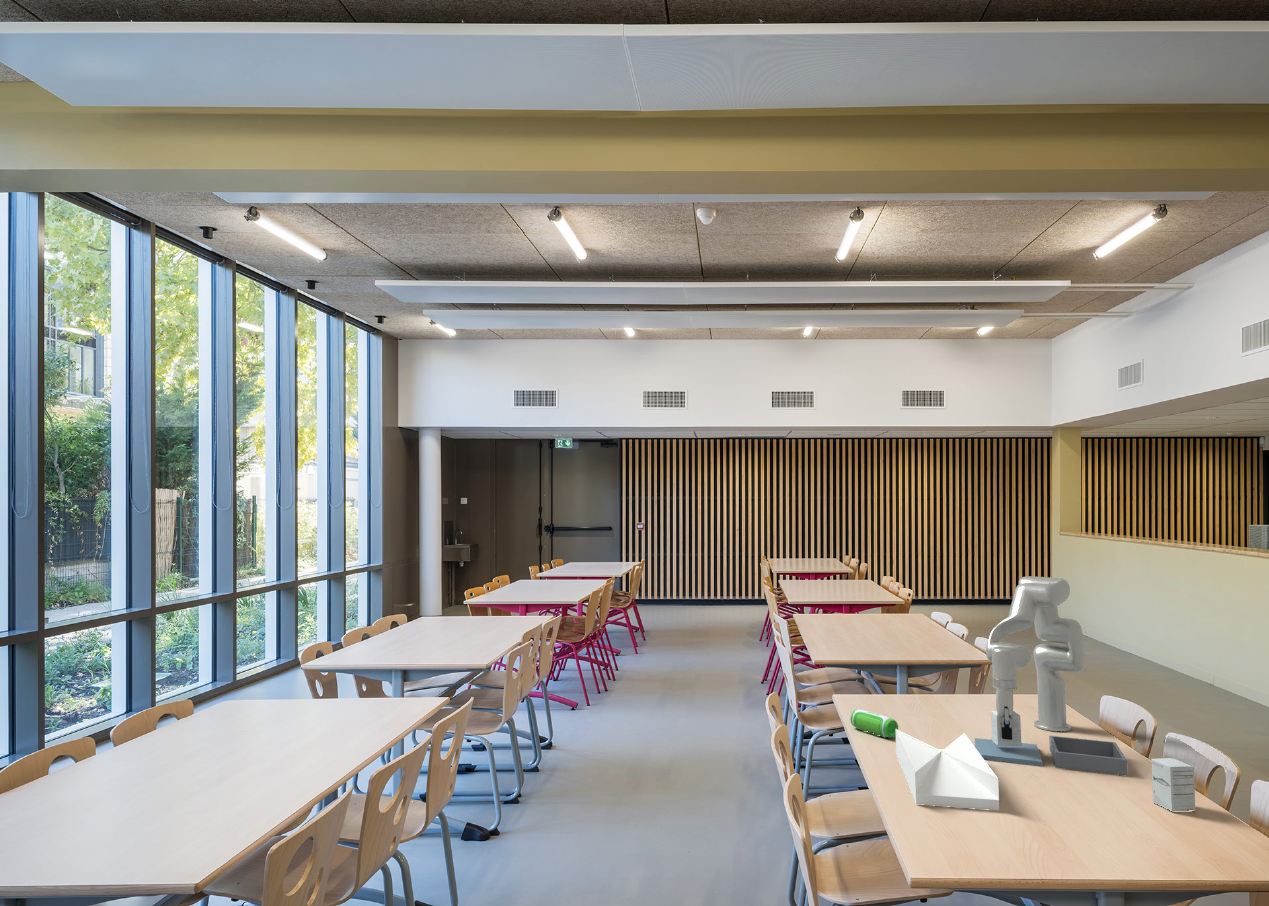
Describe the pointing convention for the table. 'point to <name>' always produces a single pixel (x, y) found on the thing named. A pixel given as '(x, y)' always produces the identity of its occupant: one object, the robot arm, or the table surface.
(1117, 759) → the rectangular frame
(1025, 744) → the board
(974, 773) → the building model
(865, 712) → the speaker
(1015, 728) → the small box
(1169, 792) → the supplement box
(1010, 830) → the table surface
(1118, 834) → the table surface
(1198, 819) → the table surface
